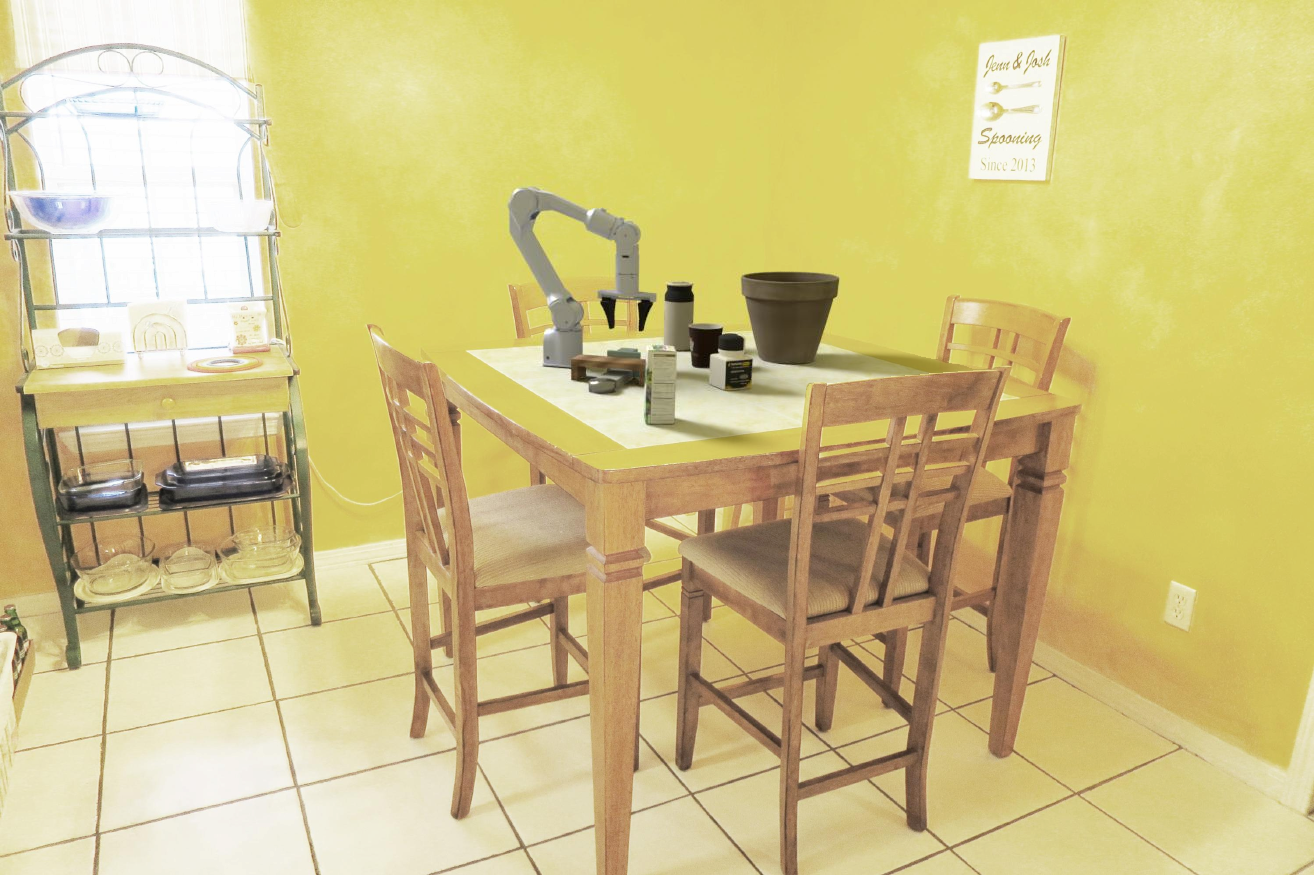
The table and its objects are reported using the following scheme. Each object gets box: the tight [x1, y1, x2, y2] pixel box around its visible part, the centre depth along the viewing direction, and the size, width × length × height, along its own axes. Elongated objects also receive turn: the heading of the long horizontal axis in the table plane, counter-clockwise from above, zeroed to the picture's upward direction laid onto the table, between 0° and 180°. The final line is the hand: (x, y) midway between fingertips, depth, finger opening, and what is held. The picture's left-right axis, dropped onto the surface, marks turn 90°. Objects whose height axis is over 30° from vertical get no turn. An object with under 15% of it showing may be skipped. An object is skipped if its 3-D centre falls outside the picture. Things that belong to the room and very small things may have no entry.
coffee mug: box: [689, 322, 724, 369], centre depth 230 cm, size 12×9×10 cm
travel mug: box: [663, 280, 695, 352], centre depth 248 cm, size 8×8×18 cm
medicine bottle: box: [708, 332, 754, 392], centre depth 206 cm, size 7×7×12 cm
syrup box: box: [643, 344, 678, 425], centre depth 176 cm, size 6×6×14 cm
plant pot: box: [740, 271, 840, 365], centre depth 237 cm, size 25×25×22 cm
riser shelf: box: [570, 353, 646, 387], centre depth 210 cm, size 18×6×5 cm, turn 74°
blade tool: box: [596, 347, 642, 390], centre depth 211 cm, size 8×17×6 cm, turn 164°
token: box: [588, 377, 617, 395], centre depth 201 cm, size 6×6×2 cm
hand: (626, 329), depth 223 cm, fingers open, 7 cm apart
